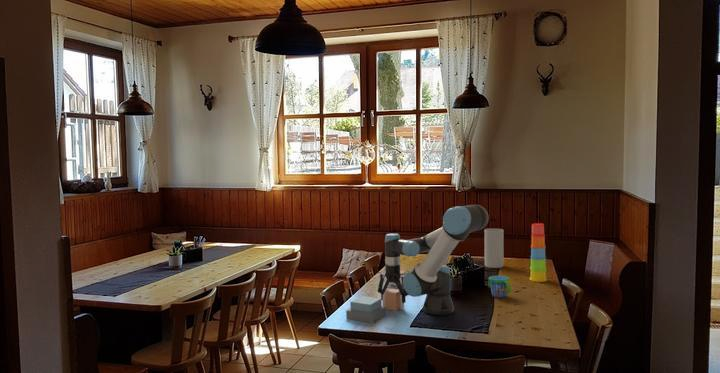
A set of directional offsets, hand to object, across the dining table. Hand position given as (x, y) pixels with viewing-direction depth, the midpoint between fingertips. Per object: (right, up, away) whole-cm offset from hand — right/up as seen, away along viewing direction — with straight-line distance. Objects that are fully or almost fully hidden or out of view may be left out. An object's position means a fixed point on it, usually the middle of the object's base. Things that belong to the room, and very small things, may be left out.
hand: (393, 307), depth 270 cm
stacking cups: (+91, +5, +52) cm, 105 cm away
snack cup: (+59, +2, +18) cm, 62 cm away
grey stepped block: (-14, -1, -13) cm, 19 cm away
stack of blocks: (+36, +5, +70) cm, 79 cm away
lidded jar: (+5, +3, +47) cm, 48 cm away
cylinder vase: (+74, +7, +91) cm, 118 cm away
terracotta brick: (0, 0, 0) cm, 0 cm away
